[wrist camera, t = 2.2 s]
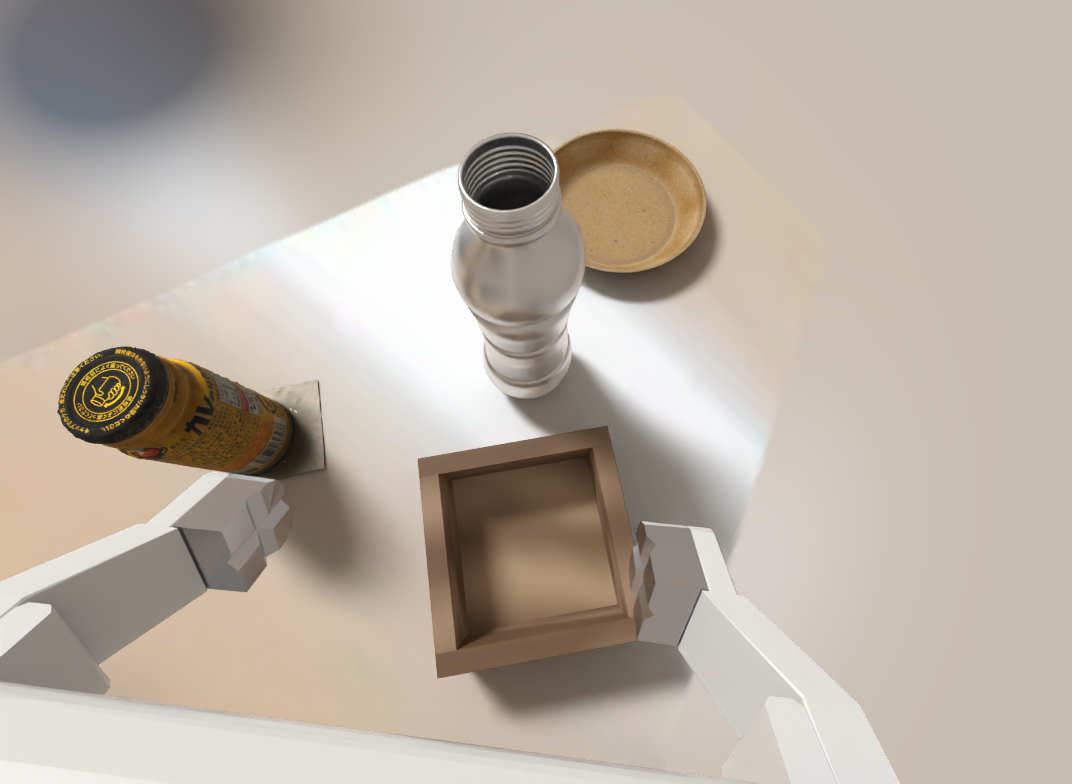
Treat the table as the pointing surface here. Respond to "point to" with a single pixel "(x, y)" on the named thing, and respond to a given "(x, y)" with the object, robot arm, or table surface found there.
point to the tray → (526, 551)
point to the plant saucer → (630, 198)
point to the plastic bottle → (518, 261)
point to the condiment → (192, 415)
